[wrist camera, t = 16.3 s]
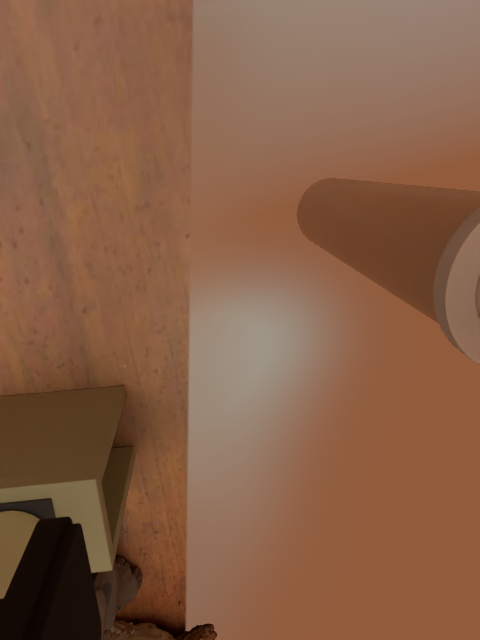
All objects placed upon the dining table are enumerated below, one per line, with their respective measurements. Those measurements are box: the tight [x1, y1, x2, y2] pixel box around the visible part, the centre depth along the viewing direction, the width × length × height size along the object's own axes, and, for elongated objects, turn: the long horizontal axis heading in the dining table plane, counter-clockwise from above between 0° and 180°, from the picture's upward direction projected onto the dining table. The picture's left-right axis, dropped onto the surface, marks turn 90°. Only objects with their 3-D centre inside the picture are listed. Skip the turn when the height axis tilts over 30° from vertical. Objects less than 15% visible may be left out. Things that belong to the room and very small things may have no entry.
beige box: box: [0, 386, 135, 573], centre depth 37 cm, size 12×8×17 cm, turn 93°
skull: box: [92, 556, 143, 640], centre depth 45 cm, size 12×18×12 cm, turn 58°
